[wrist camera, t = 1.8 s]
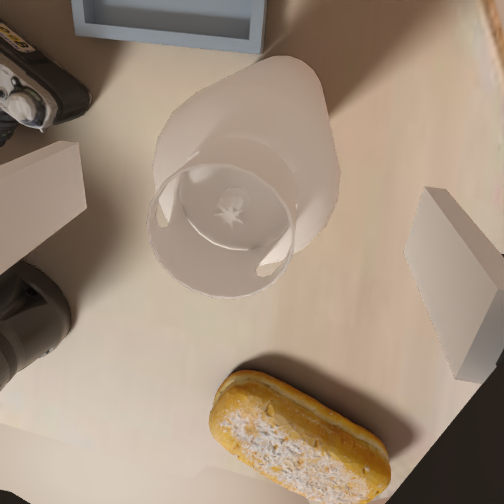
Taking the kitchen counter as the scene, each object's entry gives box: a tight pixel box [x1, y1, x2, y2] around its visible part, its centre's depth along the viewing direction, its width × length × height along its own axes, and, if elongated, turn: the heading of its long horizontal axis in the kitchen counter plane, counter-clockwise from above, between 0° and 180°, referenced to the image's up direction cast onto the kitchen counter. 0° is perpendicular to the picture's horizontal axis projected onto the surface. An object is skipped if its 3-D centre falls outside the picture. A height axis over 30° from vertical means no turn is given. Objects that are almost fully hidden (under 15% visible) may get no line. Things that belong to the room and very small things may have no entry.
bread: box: [209, 370, 391, 504], centre depth 54 cm, size 13×26×8 cm, turn 61°
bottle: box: [146, 56, 341, 299], centre depth 25 cm, size 8×8×28 cm
